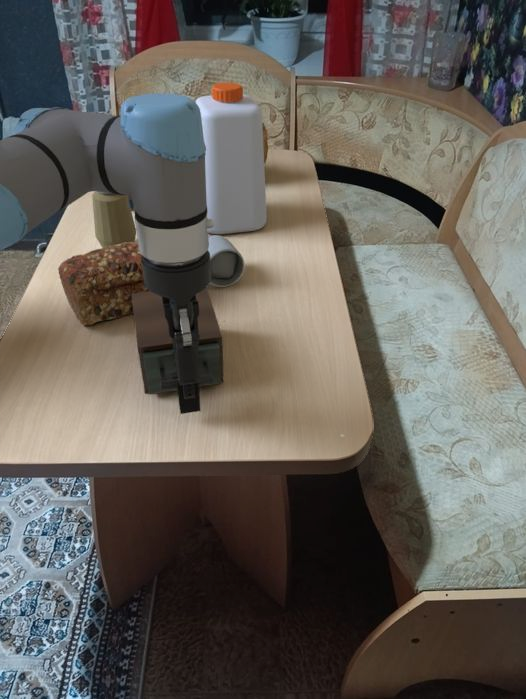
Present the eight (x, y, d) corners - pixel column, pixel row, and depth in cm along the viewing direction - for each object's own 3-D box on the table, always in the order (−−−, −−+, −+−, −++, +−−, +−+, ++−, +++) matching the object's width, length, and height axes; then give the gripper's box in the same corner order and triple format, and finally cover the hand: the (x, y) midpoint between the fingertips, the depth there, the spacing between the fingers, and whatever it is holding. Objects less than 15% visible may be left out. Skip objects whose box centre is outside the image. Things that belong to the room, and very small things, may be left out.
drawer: (226, 402, 76) (225, 366, 72) (151, 414, 74) (146, 377, 70) (206, 332, 89) (204, 297, 84) (142, 341, 87) (137, 306, 82)
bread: (82, 331, 89) (70, 280, 83) (64, 300, 96) (51, 250, 90) (185, 300, 97) (181, 250, 91) (161, 273, 104) (156, 225, 98)
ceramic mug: (231, 262, 108) (229, 227, 103) (245, 283, 102) (244, 246, 97) (179, 272, 105) (175, 236, 100) (191, 294, 99) (187, 257, 94)
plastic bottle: (191, 208, 126) (182, 77, 109) (254, 202, 130) (255, 74, 112) (202, 238, 115) (194, 98, 97) (270, 231, 118) (275, 94, 101)
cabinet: (223, 381, 81) (222, 336, 75) (145, 393, 79) (137, 348, 73) (208, 328, 91) (206, 284, 86) (138, 337, 89) (131, 293, 83)
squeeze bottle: (146, 249, 111) (135, 162, 100) (113, 263, 107) (97, 173, 95) (123, 235, 115) (110, 150, 104) (90, 248, 111) (72, 161, 99)
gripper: (219, 276, 55) (225, 438, 69) (201, 224, 65) (210, 376, 79) (143, 284, 53) (166, 448, 68) (137, 230, 63) (158, 383, 77)
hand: (190, 409), depth 73 cm, fingers closed
